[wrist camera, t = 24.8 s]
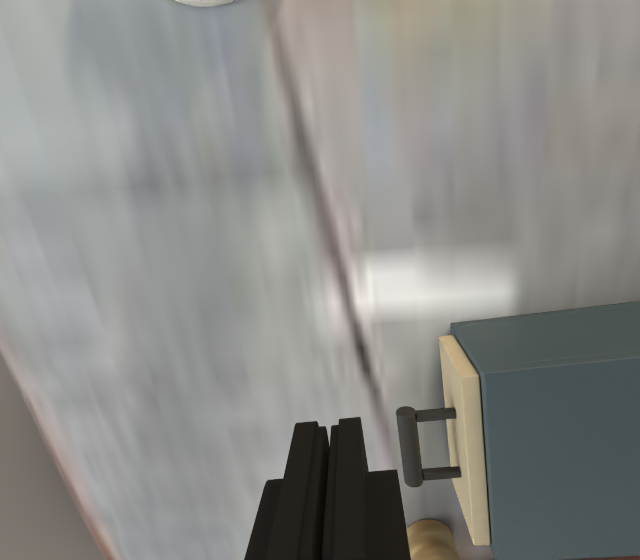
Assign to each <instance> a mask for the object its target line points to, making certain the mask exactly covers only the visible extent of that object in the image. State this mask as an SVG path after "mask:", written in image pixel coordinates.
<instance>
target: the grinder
mask: <svg viewBox="0 0 640 560" xmlns="http://www.w3.org/2000/svg"><path fill="white" fill-rule="evenodd" d="M407 536H408V543H409V549H410V556H411V560H460V559H459V555H458V552H457V548H456V545H455V541H454V538H453V534H452V532H451V530H450V529H449V528H448V527H447V526H446V525H445V524H443V523H442V522H440V521H437V520H432V519H425V520H420V521H417V522H415V523H413V524H412V525H410V526H409V527H408V528H407Z"/></svg>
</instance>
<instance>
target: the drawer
mask: <svg viewBox="0 0 640 560" xmlns="http://www.w3.org/2000/svg"><path fill="white" fill-rule="evenodd" d="M439 346H440V357H441V368H442V379H443V390H444V401H445V408H440V409H430V410H419V411H415V409H414V408H412V407H408V406H405V407H400V408H399V409H397V411H396V416H397V424H398V432H399V440H400V448H401V456H402V464H403V472H404V481H405V483H406V484H407V485H408V486H410V487H419V486H421V485H422V483H423V480H436V479H449V478H452V481H453V484H454V487H455V490H456V493H457V496H458V499H459V502H460V505H461V508H462V511H463V514H464V517H465V520H466V523H467V526H468V529H469V532H470V535H471V538H472V541H473V544H474V546H481V545H490V544H491V540H490V525H489V510H488V496H487V485H488V478H487V463H486V448H485V433H484V418H483V403H482V388H481V378H480V376H479V374H478V373H477V371H476V369H475V368H474V366H473V365H472V363H471V362H470V360H469V358H468V357H467V355H466V354H465V352H464V351H463V349H462V347H461V346H460V344H459V343H458V341H457V340H456V338H455V336H454V335H447V336H439ZM435 420H446V423H447V434H448V445H449V456H450V467H441V468H428V469H422V464H421V455H420V446H419V437H418V428H417V422H424V421H435Z"/></svg>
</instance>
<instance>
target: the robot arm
mask: <svg viewBox="0 0 640 560" xmlns="http://www.w3.org/2000/svg"><path fill="white" fill-rule="evenodd" d="M175 1H177V2H179V3H183V4H187V5H192V6H202V7H213V6H218V5H223V4H227V3H230V2H233V1H235V0H175ZM244 560H411V556H410V549H409V543H408V536H407V530H406V524H405V517H404V511H403V505H402V498H401V492H400V485H399V479H398V473H397V470H385V471H372V472H369V471H368V465H367V458H366V451H365V444H364V438H363V431H362V424H361V419H360V417H355V418H344V419H339V425H333V426H331V437H330V447H329V441H328V435H327V429H326V427H325V426H322V427H319V425H318V422H317V421H313V422H303V423H296V424H295V428H294V432H293V437H292V441H291V446H290V451H289V455H288V460H287V464H286V469H285V473H284V478H283V479H274V480H268V481H267V482H266V484H265V486H264V490H263V494H262V497H261V501H260V504H259V508H258V512H257V515H256V519H255V523H254V526H253V530H252V534H251V537H250V541H249V545H248V548H247V552H246V555H245V559H244Z"/></svg>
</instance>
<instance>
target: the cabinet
mask: <svg viewBox="0 0 640 560" xmlns="http://www.w3.org/2000/svg"><path fill="white" fill-rule="evenodd" d="M451 333H452V335H454V336H455V338H456V340H457V341H458V343H459V344H460V346H461V347H462V349H463V351H464V352H465V354H466V355H467V357H468V358H469V360H470V362H471V363H472V365H473V366H474V368H475V369H476V371H477V373H478V374H479V376H480V378H481V388H482V403H483V418H484V433H485V448H486V463H487V478H488V485H487V496H488V510H489V525H490V540H491V544H490V545H489V546H490V548H491V551H492V553H493V556H494V559H495V560H563V559H581V558H599V557H617V556H635V555H640V301H638V302H629V303H621V304H612V305H604V306H595V307H587V308H578V309H570V310H561V311H553V312H544V313H536V314H527V315H519V316H510V317H502V318H493V319H485V320H476V321H468V322H459V323H451Z"/></svg>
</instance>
